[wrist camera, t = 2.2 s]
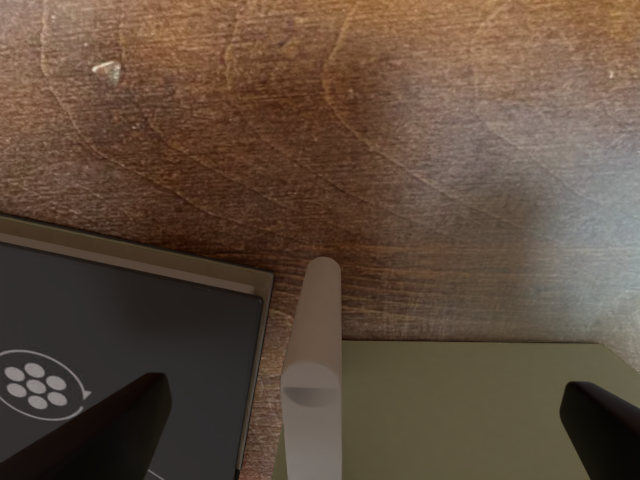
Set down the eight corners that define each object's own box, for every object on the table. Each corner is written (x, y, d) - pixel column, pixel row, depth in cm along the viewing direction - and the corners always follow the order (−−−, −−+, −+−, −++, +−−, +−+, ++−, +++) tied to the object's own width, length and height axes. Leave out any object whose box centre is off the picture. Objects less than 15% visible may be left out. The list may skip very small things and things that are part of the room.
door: (293, 247, 16) (218, 437, 6) (632, 245, 15) (1202, 468, 5) (299, 355, 18) (250, 628, 8) (598, 359, 17) (957, 678, 7)
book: (-87, 405, 21) (-154, 448, 18) (-150, 180, 16) (-255, 191, 13) (241, 472, 21) (225, 525, 18) (276, 270, 16) (263, 299, 13)
